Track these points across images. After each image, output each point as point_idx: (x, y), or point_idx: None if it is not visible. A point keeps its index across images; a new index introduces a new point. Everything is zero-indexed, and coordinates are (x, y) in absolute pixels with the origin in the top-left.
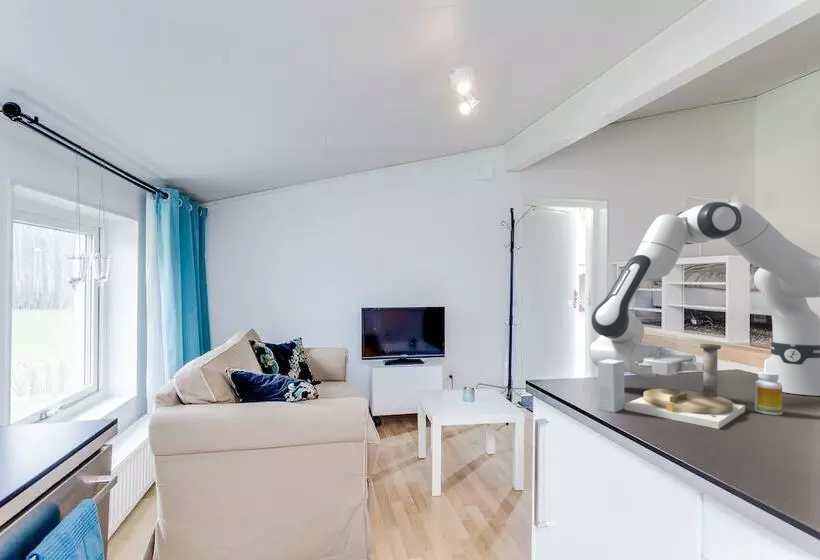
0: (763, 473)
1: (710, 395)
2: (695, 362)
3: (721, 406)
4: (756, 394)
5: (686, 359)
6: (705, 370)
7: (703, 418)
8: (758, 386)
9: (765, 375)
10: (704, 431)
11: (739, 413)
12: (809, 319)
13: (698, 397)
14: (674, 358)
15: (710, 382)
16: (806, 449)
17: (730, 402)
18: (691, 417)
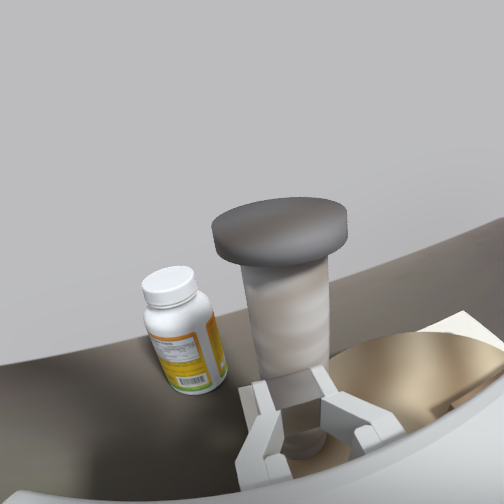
0: (495, 241)
1: None
2: (275, 423)
3: (409, 335)
4: (208, 348)
5: (274, 485)
6: (327, 364)
7: (479, 327)
8: (207, 320)
9: (194, 278)
10: (493, 316)
11: None
12: None
13: None
14: (444, 469)
15: None
16: (396, 263)
17: (339, 358)
18: (497, 339)
